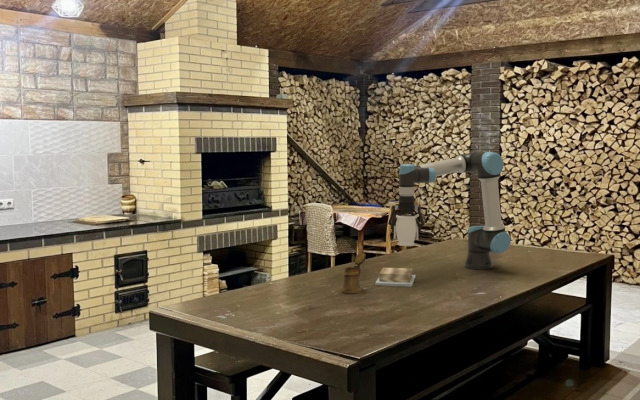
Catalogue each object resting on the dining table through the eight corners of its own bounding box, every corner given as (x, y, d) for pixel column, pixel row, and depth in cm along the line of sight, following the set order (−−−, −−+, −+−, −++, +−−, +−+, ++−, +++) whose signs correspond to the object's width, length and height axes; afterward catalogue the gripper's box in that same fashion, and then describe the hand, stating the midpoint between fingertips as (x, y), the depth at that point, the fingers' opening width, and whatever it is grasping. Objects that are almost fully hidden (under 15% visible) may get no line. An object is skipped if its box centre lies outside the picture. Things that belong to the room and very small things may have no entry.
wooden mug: (371, 289, 320) (371, 252, 318) (352, 294, 310) (352, 256, 308) (357, 286, 326) (357, 250, 324) (338, 291, 316) (338, 254, 315)
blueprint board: (415, 277, 346) (415, 274, 346) (412, 286, 325) (412, 284, 325) (381, 275, 350) (381, 273, 350) (375, 285, 329) (375, 282, 329)
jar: (416, 243, 340) (416, 214, 338) (417, 246, 329) (417, 216, 328) (395, 243, 340) (395, 213, 339) (395, 246, 330) (396, 216, 329)
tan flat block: (412, 276, 343) (412, 268, 343) (409, 282, 329) (409, 274, 328) (383, 275, 346) (383, 267, 346) (379, 281, 332) (379, 273, 331)
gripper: (430, 195, 334) (429, 238, 336) (384, 194, 338) (383, 237, 341) (429, 196, 326) (428, 241, 329) (382, 195, 331) (382, 239, 333)
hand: (406, 239), depth 335 cm, fingers closed on jar, 10 cm apart
